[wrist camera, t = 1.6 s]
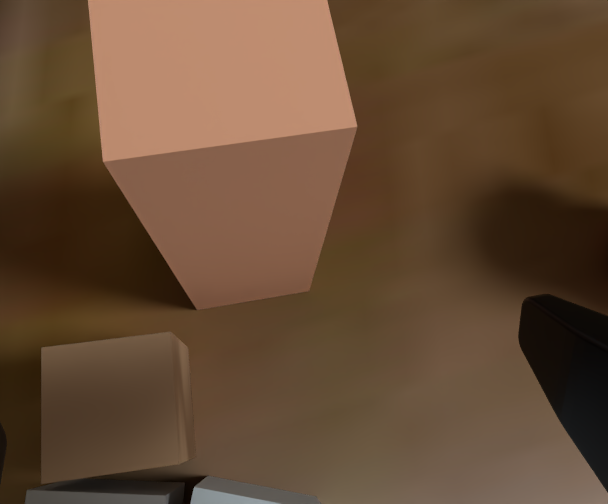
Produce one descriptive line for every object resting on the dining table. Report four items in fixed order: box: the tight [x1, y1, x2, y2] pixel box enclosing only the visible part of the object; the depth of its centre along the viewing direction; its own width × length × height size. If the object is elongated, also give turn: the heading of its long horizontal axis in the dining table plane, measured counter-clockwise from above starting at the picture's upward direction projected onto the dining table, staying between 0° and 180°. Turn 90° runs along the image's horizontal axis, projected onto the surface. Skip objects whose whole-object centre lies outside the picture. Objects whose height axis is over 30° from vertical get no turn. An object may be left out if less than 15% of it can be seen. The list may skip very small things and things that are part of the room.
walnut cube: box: [41, 332, 196, 484], centre depth 19 cm, size 4×4×4 cm
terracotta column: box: [88, 0, 357, 310], centre depth 17 cm, size 4×4×13 cm
